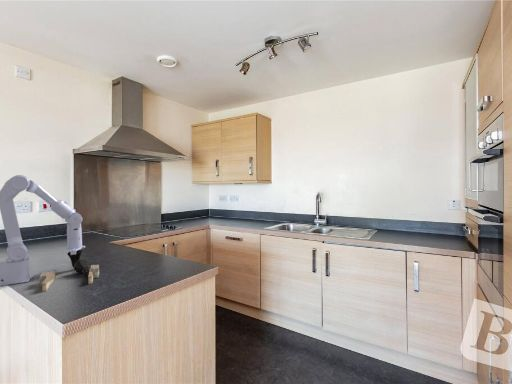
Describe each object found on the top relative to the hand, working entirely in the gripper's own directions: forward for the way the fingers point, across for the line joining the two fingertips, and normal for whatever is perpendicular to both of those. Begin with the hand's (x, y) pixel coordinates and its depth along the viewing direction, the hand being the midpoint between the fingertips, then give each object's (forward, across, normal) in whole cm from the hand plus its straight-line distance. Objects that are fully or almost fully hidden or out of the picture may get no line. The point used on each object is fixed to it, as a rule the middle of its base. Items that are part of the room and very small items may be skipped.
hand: (75, 266), depth 127 cm
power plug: (+2, -11, -4) cm, 12 cm away
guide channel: (+1, -17, 0) cm, 17 cm away
